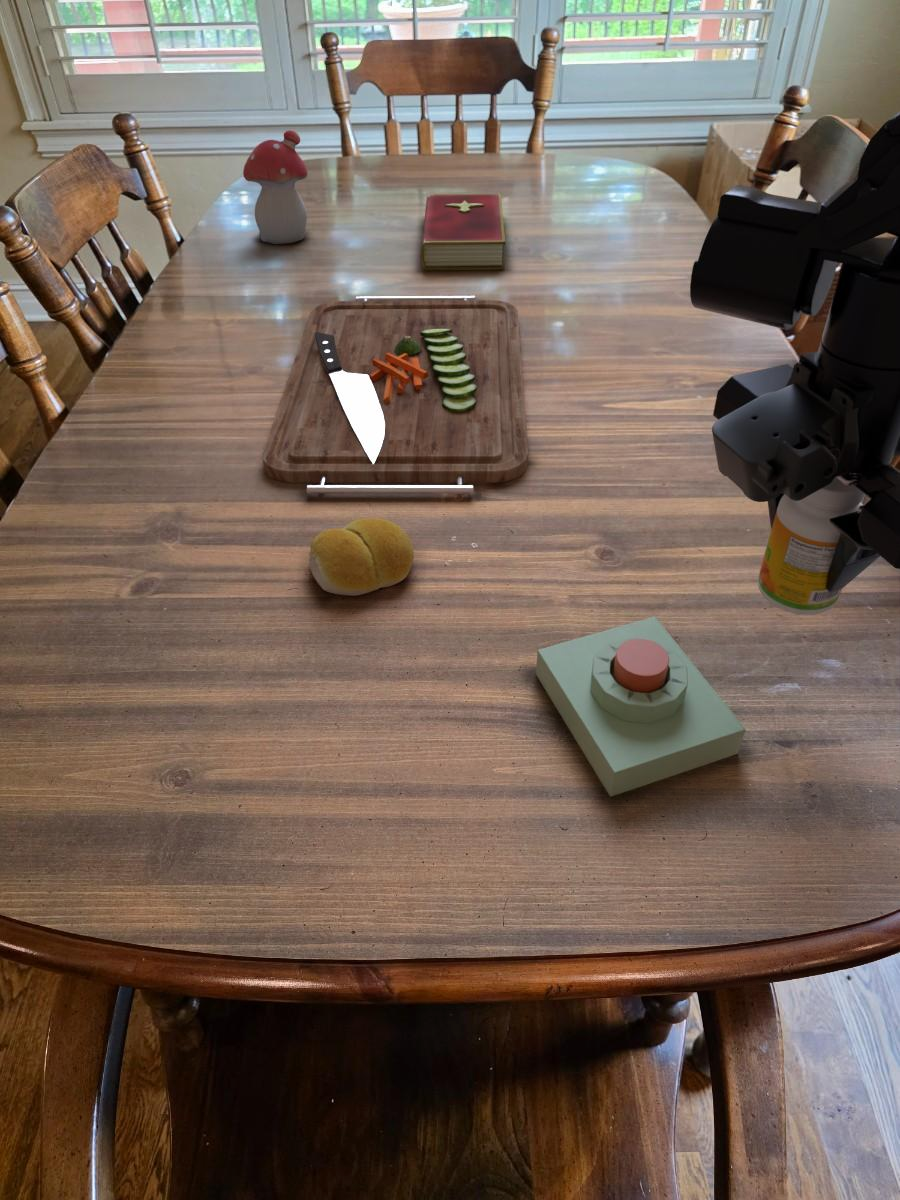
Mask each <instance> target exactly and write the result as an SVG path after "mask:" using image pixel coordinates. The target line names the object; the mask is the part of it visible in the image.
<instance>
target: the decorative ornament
mask: <svg viewBox="0 0 900 1200" xmlns="http://www.w3.org/2000/svg"><path fill="white" fill-rule="evenodd" d="M300 143H301V137H300V135H299V133H297V132H296V131H295V130H289V129H288V130H286V131H285V132H284V133H283V140H280V141H279V140H275V139H268V140H264V141H262V142H260V143H259V144H257V145H256V146H255V147H254V148H253V150H252V151H251V153H250V154H249V156H248V158H247V159H246V162H245V164H244V166H243V171H242V176H243V178H244V179H245V181H247V182H252V183H257V184H258V185H260V186H261V188H260V192H259V195H258V196H257V199H256V200H255V201H256V202H255V204H254V205H255V206H254V220H255V223H256V226H257V229H258V230H259V234H258V237H259V240H261V242H264V243H269V244H274V245H282V244H283V245H284V244H293V243H296V242H299V241H302V240H303V239H304V238H305V233H306V228H307V222H308V213H307V210H306V205H305V203H304V201H303V199H302V197H301V195H300V194H299V192H298V191H297V189H296V188H295V186H296V183H297V182H298V181H302V180H306V178H307V177H308V169H307V166H306V163H305V162H304V161H303V159H302V158H301V156H300V155H299V154H298V152H297V151H296V147H297V146H298V145H299V144H300Z"/></svg>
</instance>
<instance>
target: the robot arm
mask: <svg viewBox="0 0 900 1200" xmlns="http://www.w3.org/2000/svg"><path fill="white" fill-rule="evenodd" d="M886 233H887V234H888V235H892V236H895V238H883V237H879V236H882V235H884V234H886ZM838 264H841V267H840V270H839V274H838V277H837V282H836V285H835V288H834V291H833V296H832V298H831V299H832V300H831V303H830V307H829V311H828V313H827V314H828V315H827V318H826V321H825V325H824V329H823V332H822V336H821V339H820V343H819V347H818V350H816V351H812V352H808V353H807V352H806V353H803V354H800V356H799V360H798V362H796V363H795V364H794V365H793V366H791V365H789V364H788V363H786V364H781V365H776V366H772V367H771V366H770V367H768V368H762V369H759V370H753V371H749V372H745V373H739V374H734V375H732V376H730V377H729V378H728V379H727V381H725V382H724V384H723V385H721V387H720V388H719V389H718V390H717V393H716V397H715V403H714V407H713V413H712V416H713V417H714V418H716V419H717V420H716V421H715V422H714V423H713V425H712V427H711V433H712V439H713V444H714V445H713V446H714V450H715V457H716V462H717V469H718V471H719V473H720V474H721V475H722V476H723V477H727V478H728V479H729V480H730V481H731V482H733V484H734V485H736V487H738V489H740V490H741V491H742V492H743V494H744V496H746V497H747V499H748V500H751V501H752V502H757V503H765V502H767V508H768V516H769V523H770V530H771V529H772V526H773V522H774V519H775V515H776V512H777V508H778V505H779V502H780V500H781V498H782V497H783V495H784V494H785V495H787V496H788V497H789V498H790V499H791V500H794V501H799V500H802V499H804V498H806V497H807V496H809V495H811V494H813V493H814V492H816V491H818V490H820V489H822V488H823V487H825V486H827V485H829V484H830V483H831V482H832V481H833V479H834V478H835V477H836V478H837V479H838V480H840V481H841V482H842V483H843V484H845V485H848V486H851V485H854V486H856V487H857V488H858V489H859V490H861V491H862V492H863V493H865V494H864V497H863V499H862V500H863V501H862V502H861V503H862V504H863V505H862V506H860V507H859V509H858V511H856V512H852V513H849V514H845V515H841V516H838V517H834V518H830V523H831V524H832V525H833V526H834V527H835V528H836V529H837V530H838V531H839V532H840V537H839V540H838V543H837V546H836V549H835V553H834V556H833V559H832V562H831V565H830V568H829V572H828V576H827V582H826V589H827V590H828V591H829V592H833V591H837V590H840V589H842V590H843V589H844V588H845V587H846V586H848V584H850V583H851V582H852V581H853V580H854V579H855V578H857V577H858V576H859V575H860V574H861V573H862V572H864V571H865V570H866V569H867V568H868V567H870V565H872V564H873V563H874V562H875V561H876V560H878V559H879V558H880V557H881V558H882V559H883V560H885V561H886V562H887V563H888V564H889V565H891V567H893V568H894V569H898V570H900V469H898V468H896V466H894V465H892V464H891V463H892V461H893V459H894V457H898V456H900V111H898V112H897V113H895V115H893V116H892V117H890V118H889V119H888V120H887V121H885V123H883V124H882V126H881V127H880V128H879V129H877V132H875V133H874V135H872V137H871V138H870V139H869V141H868V143H867V145H866V147H865V149H864V151H863V153H862V155H861V157H860V160H859V165H858V172H857V177H856V180H852V179H851V180H850V179H849V180H847V181H846V182H845V183H844V184H842V185H841V186H840V187H839V188H838V189H836V190H835V191H834V192H833V193H832V194H830V195H829V196H827V198H826V199H825V200H824V201H822V202H819V201H812V200H807V199H800V198H795V197H788V196H782V195H777V194H772V193H768V192H767V191H764V190H762V189H760V188H757V187H753V186H747V185H741V184H736V185H735V186H733V187H732V188H730V189H729V190H728V191H726V192H725V193H724V194H722V195H721V196H720V197H719V203H718V209H717V215H716V216H715V218H714V220H713V222H712V223H711V224H710V227H709V228H708V231H707V233H706V236H705V238H704V240H703V242H702V246H701V248H700V252H699V256H698V258H697V259H695V261H694V263H693V265H692V270H691V275H690V284H689V295H690V296H689V297H690V303H691V304H692V306H693V307H694V308H695V309H698V310H701V311H702V310H703V311H707V312H710V313H715V314H719V315H723V316H728V317H732V318H736V319H741V320H744V321H749V322H752V323H757V324H761V325H764V326H769V327H773V328H777V329H782V330H785V331H789V330H791V329H792V328H793V327H794V326H795V325H796V323H797V322H799V319H800V317H801V316H802V315H805V316H809V317H810V316H811V317H815V316H817V314H818V313H819V312H820V310H821V308H822V307H823V305H824V303H825V301H826V299H827V296H828V294H829V292H830V290H831V287H832V284H833V280H834V278H835V275H836V271H837V267H838Z"/></svg>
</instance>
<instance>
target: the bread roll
mask: <svg viewBox="0 0 900 1200" xmlns="http://www.w3.org/2000/svg"><path fill="white" fill-rule="evenodd" d="M308 556H309V558H308V563H307V564H308V567H309V569H310V572H311V573H312V576H313V578H314V580H315V581H316V583H317V584H318V585H319V586H320V588H321V589H322V590H323V591H325V592H328V593H330V594H334V595H340V596H341V595H342V596H352V597H353V596H360V595H364V594H369V593H371V592H373V591H377V590H379V589H380V588H389V587H391V586H394V585H396V584H398V583H400V582H401V581H403V580H405V579H406V578H407V576H408V575H409V573H410V571H411V568H412V565H413V562H414V557H415V556H414V547H413V543H412V541H411V538H410V536H408V534H407V532H406V530H404V529H403V528H402V527H400V525H398V524H397V523H395V522H393V521H391V520H388V519H385V518H378V517H377V518H376V517H375V518H370V517H369V518H358V519H357V520H354V521H351V522H350V523H348V524H346V525H345V526H343V527H342V528H339V527H338V528H328V529H325V530H322V531H320V532H319V533H318V534H317V535H316V536H315V537H314V539H313V540H312V541H311V542H310V551H309V554H308Z"/></svg>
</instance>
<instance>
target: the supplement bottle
mask: <svg viewBox="0 0 900 1200" xmlns="http://www.w3.org/2000/svg"><path fill="white" fill-rule="evenodd" d="M864 497H865V493H863V492H862V491H861V490H859V489H858V488H857V487H856V486H854V485H851V486H848V485H845V484H843V483H842V482H841V481H840V480H838V479H837V478H836V477H835V478H834V479H833V481H832V482H831V483H830V484H829V485H827V486H825V487H823V488H822V489H820V490H818V491H816V492H814V493H813V494H811V495H809V496H807V497H806V498H804V499H802V500H799V501H794V500H791V499H790V498H789V497H788V496H787V495H785V494H784V495H783V497H782V498H781V500H780V502H779V505H778V508H777V512H776V515H775V519H774V522H773V526H772V529H771V528H770V533H769V537H768V540H767V544H766V547H765V552H764V554H763V559H762V562H761V565H760V569H759V574H758V578H757V587H758V590H759V592H760V594H761V595H762V597H763V598H764V600H766V601H767V602H768V603H769V604H771V606H773V607H776V608H777V609H779V610H781V611H783V612H787V613H790V614H794V615H800V616H801V615H802V616H812V615H820V614H823V613H825V612H828V611H829V610H831V609H832V608H834V606H835V605H837V603H838V601H839V598H840V596H841V593H842V591H843V588H842V589H840V590H837V591H833V592H829V591H828V590H827V589H826V582H827V576H828V572H829V568H830V565H831V562H832V559H833V556H834V553H835V549H836V546H837V543H838V540H839V537H840V532H839V531H838V530H837V529H836V528H835V527H834V526H833V525H832V524H831V523H830V518H834V517H838V516H841V515H845V514H849V513H852V512H856V511H858V509H859V507H860V506H862V505H863V504H862V503H863V502H862V500H864Z"/></svg>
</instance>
